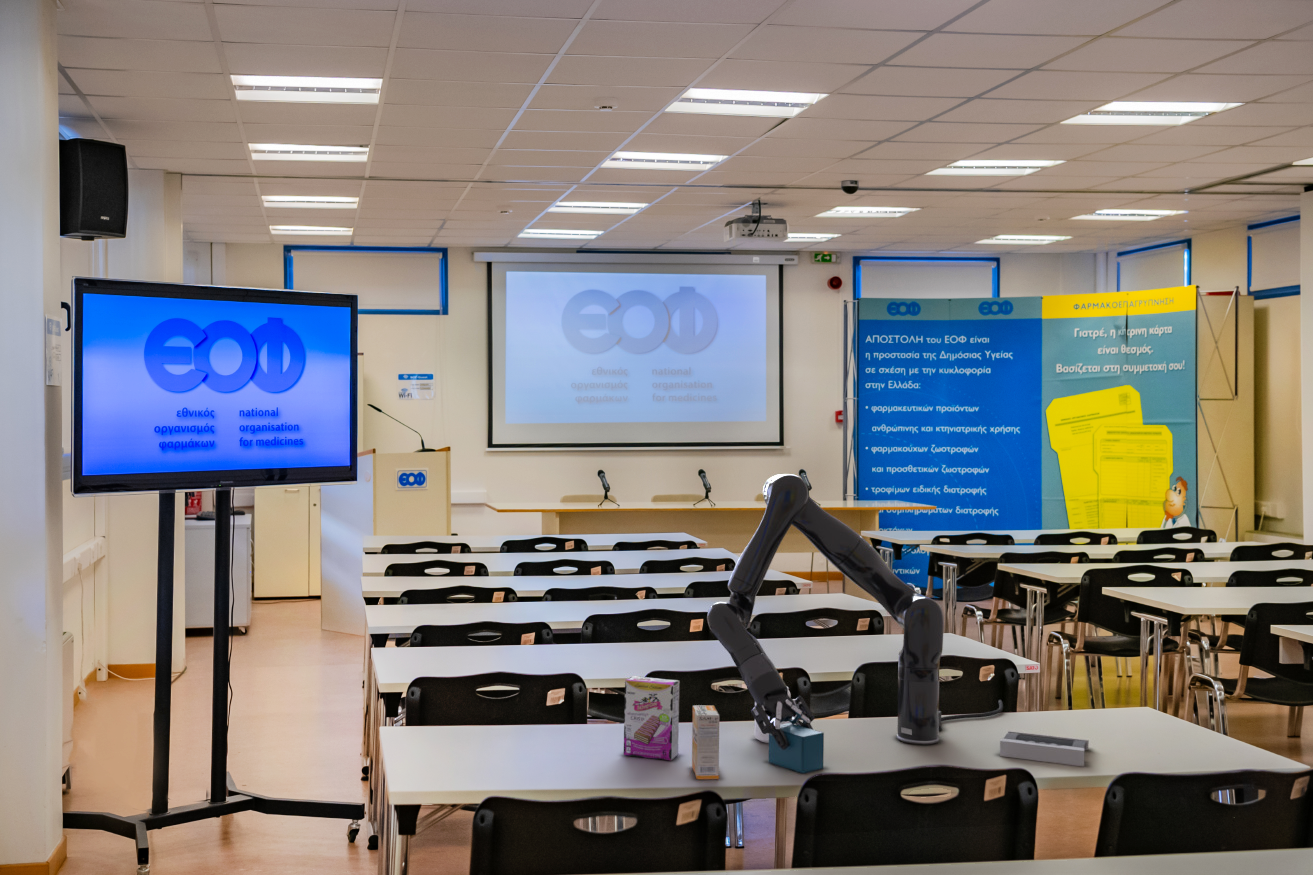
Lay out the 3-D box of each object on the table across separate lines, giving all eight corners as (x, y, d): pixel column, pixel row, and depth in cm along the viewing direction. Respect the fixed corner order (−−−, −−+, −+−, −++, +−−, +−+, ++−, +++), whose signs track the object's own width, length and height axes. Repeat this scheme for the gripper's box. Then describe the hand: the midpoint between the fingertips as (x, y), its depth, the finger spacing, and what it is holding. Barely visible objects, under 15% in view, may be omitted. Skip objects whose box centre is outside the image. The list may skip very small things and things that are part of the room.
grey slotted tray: (1000, 740, 240) (1009, 718, 255) (1000, 761, 241) (1009, 738, 255) (1083, 750, 233) (1088, 727, 248) (1083, 771, 233) (1088, 747, 248)
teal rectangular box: (768, 762, 233) (768, 726, 233) (788, 757, 237) (789, 722, 237) (802, 773, 225) (803, 736, 225) (823, 768, 229) (823, 732, 229)
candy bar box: (622, 755, 236) (623, 679, 236) (630, 750, 241) (631, 675, 241) (671, 761, 232) (673, 683, 233) (679, 755, 237) (680, 679, 237)
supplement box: (690, 767, 228) (691, 704, 228) (713, 767, 228) (714, 704, 228) (695, 779, 220) (696, 714, 220) (719, 779, 220) (720, 714, 220)
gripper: (747, 673, 233) (785, 739, 223) (794, 666, 242) (833, 729, 232) (730, 694, 237) (767, 759, 228) (777, 686, 246) (814, 749, 236)
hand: (800, 744), depth 230 cm, fingers open, 8 cm apart
